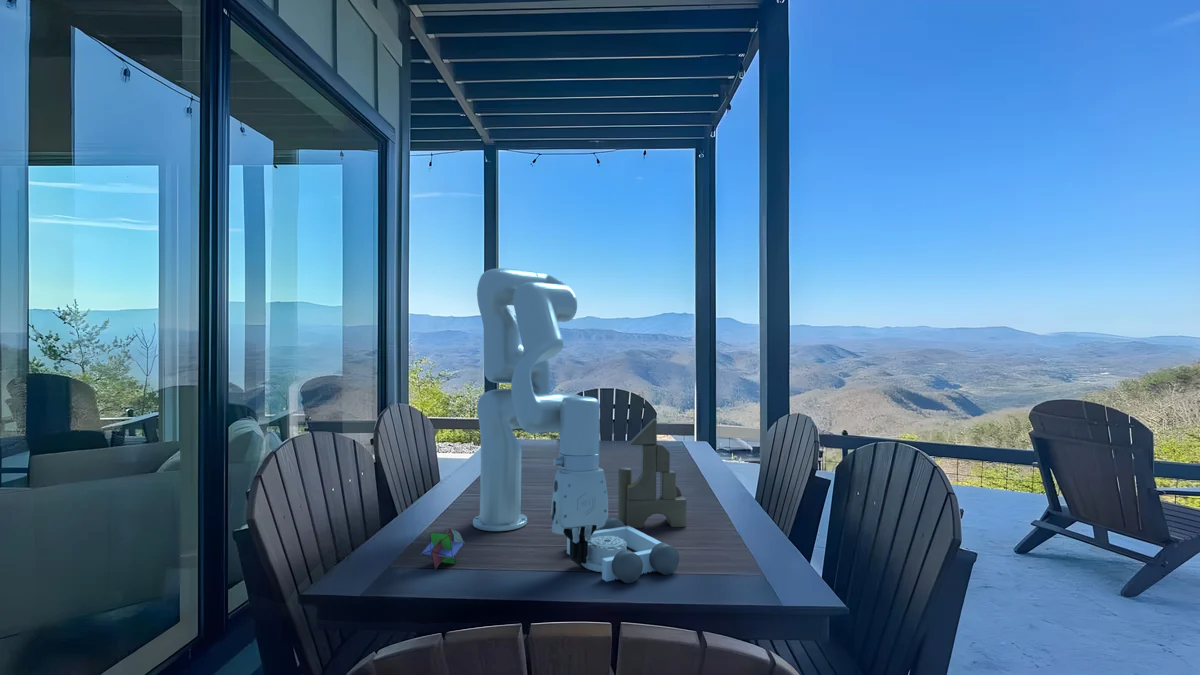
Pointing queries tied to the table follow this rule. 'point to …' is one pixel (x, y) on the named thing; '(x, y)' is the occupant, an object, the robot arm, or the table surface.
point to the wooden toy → (650, 485)
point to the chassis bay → (634, 564)
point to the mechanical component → (602, 550)
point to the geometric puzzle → (443, 547)
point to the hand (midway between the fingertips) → (578, 561)
